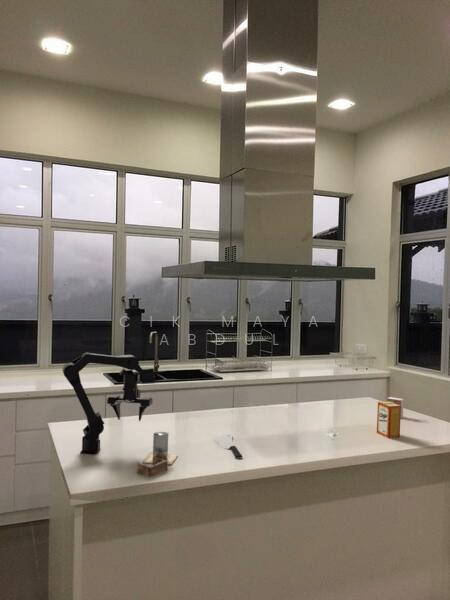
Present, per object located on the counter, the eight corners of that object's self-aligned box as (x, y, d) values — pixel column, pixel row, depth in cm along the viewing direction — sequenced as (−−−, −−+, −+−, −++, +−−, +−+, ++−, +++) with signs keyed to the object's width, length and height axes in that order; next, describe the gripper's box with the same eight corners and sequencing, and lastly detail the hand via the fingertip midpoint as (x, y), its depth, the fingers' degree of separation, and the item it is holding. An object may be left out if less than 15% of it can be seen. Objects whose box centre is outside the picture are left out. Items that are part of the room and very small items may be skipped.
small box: (386, 416, 281) (386, 398, 280) (388, 414, 285) (389, 396, 285) (400, 418, 276) (401, 400, 276) (403, 416, 281) (403, 398, 280)
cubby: (137, 472, 185) (137, 463, 185) (154, 465, 193) (154, 456, 193) (150, 477, 182) (150, 467, 181) (167, 469, 189) (167, 460, 189)
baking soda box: (399, 437, 241) (401, 405, 241) (388, 438, 239) (389, 405, 239) (387, 431, 250) (388, 400, 250) (376, 432, 248) (378, 401, 248)
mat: (142, 463, 195) (142, 461, 195) (149, 453, 206) (149, 452, 206) (171, 465, 194) (171, 464, 194) (177, 456, 205) (177, 454, 205)
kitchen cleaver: (211, 435, 233) (231, 432, 235) (211, 438, 233) (232, 435, 235) (221, 458, 203) (245, 454, 204) (222, 462, 203) (245, 458, 204)
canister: (153, 461, 196) (154, 436, 196) (152, 456, 202) (152, 431, 202) (168, 460, 198) (169, 435, 197) (166, 455, 204) (167, 431, 203)
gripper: (156, 382, 219) (155, 416, 219) (116, 379, 221) (115, 414, 222) (149, 387, 208) (148, 423, 208) (107, 384, 210) (106, 420, 211)
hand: (129, 420), depth 213 cm, fingers open, 9 cm apart
